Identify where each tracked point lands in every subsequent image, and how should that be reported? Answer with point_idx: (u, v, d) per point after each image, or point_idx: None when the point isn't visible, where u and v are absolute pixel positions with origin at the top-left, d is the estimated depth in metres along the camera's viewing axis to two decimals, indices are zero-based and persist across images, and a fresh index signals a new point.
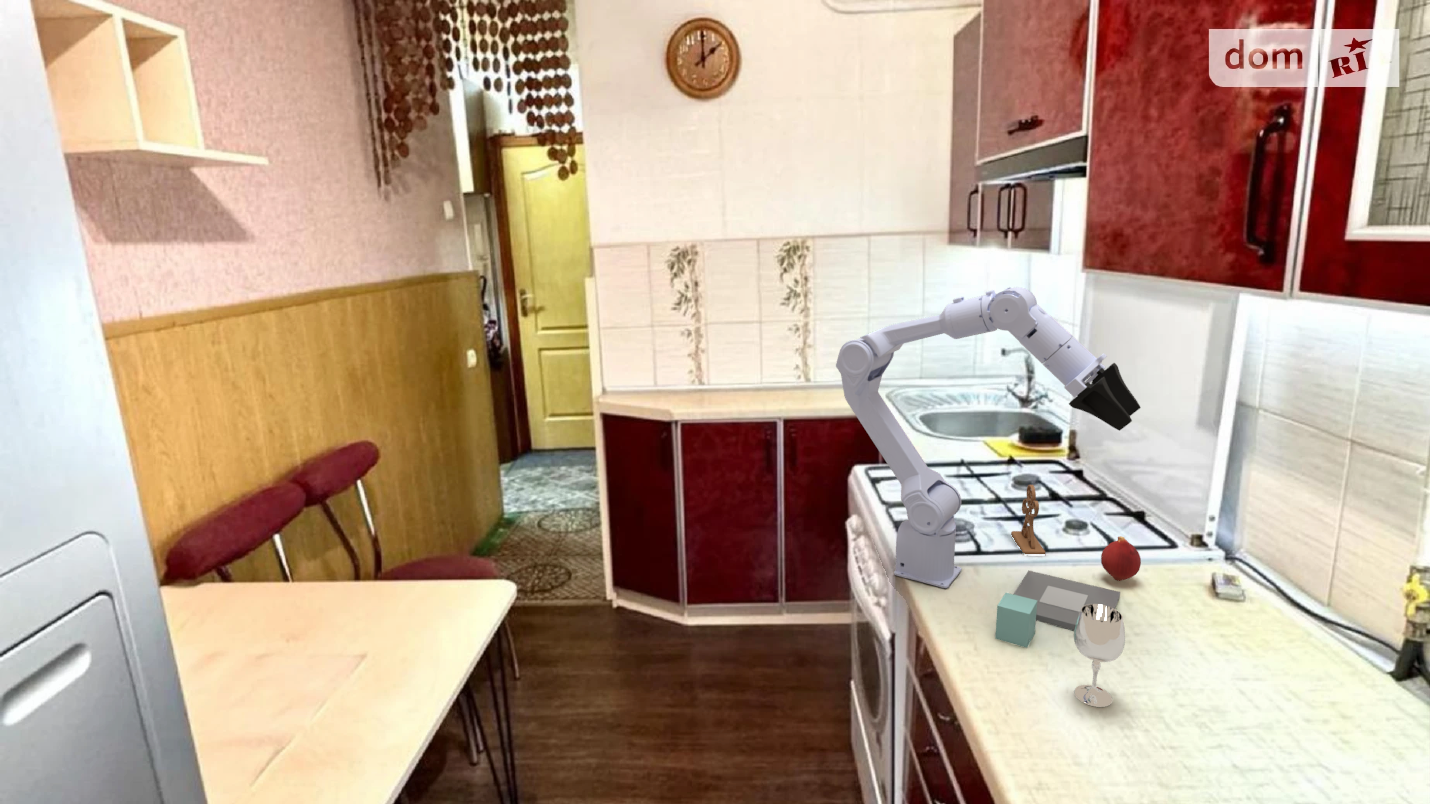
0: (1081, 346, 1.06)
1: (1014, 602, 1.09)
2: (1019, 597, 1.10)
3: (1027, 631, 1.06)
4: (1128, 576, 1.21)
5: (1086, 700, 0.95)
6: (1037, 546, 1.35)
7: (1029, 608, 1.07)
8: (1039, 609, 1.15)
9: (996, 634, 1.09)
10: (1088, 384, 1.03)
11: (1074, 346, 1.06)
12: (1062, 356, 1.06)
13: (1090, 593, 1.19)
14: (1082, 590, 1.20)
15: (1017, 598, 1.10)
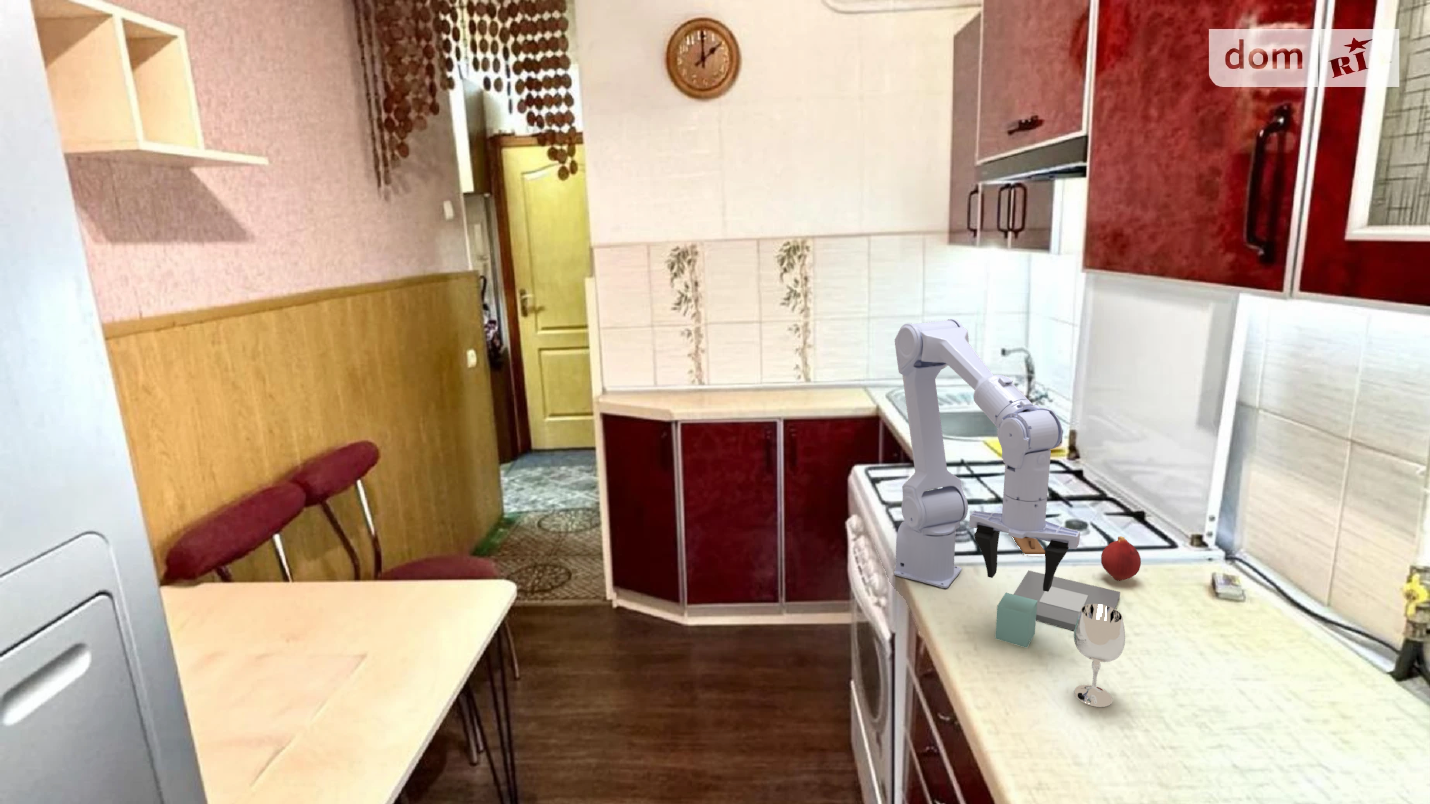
0: (1016, 511, 1.03)
1: (1014, 602, 1.09)
2: (1019, 597, 1.10)
3: (1027, 631, 1.06)
4: (1128, 576, 1.21)
5: (1086, 700, 0.95)
6: (1037, 546, 1.35)
7: (1029, 608, 1.07)
8: (1039, 609, 1.15)
9: (996, 634, 1.09)
10: (987, 529, 1.08)
11: (1009, 504, 1.03)
12: (1003, 498, 1.05)
13: (1090, 593, 1.19)
14: (1082, 590, 1.20)
15: (1017, 598, 1.10)
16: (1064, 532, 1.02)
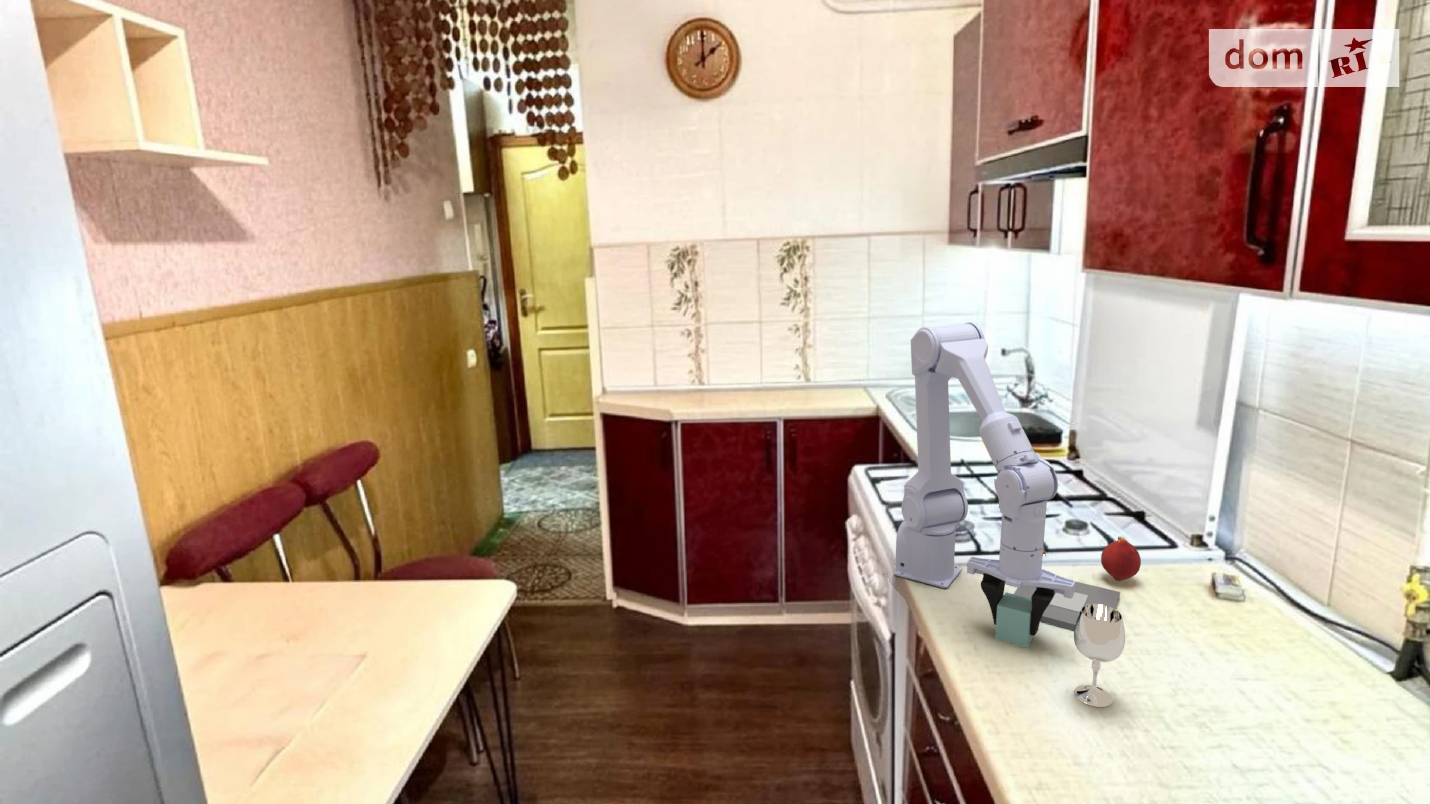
0: (1013, 561, 1.04)
1: (1014, 601, 1.09)
2: (1019, 596, 1.10)
3: (1027, 631, 1.06)
4: (1128, 576, 1.21)
5: (1086, 700, 0.95)
6: None
7: (1029, 608, 1.07)
8: None
9: (996, 634, 1.09)
10: (984, 576, 1.10)
11: (1006, 553, 1.05)
12: None
13: (1090, 593, 1.19)
14: (1082, 590, 1.20)
15: (1017, 598, 1.10)
16: (1060, 581, 1.04)
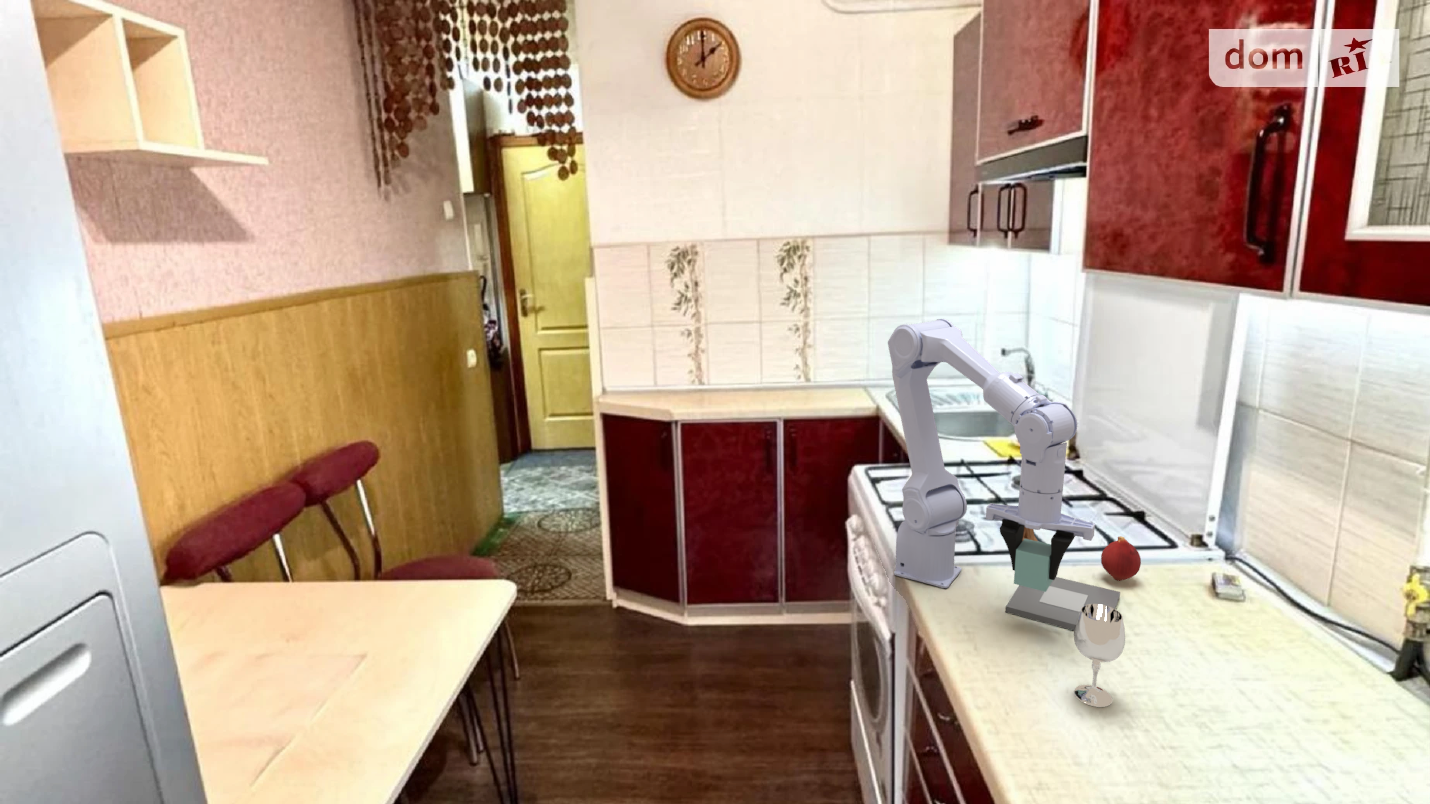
0: (1032, 503, 1.05)
1: (1033, 546, 1.09)
2: (1038, 542, 1.10)
3: (1046, 574, 1.07)
4: (1128, 576, 1.21)
5: (1086, 700, 0.95)
6: None
7: (1048, 552, 1.07)
8: (1039, 609, 1.15)
9: (1015, 579, 1.10)
10: (1003, 521, 1.10)
11: (1025, 497, 1.06)
12: (1019, 491, 1.08)
13: (1090, 593, 1.19)
14: (1082, 590, 1.20)
15: (1036, 543, 1.10)
16: (1079, 524, 1.04)
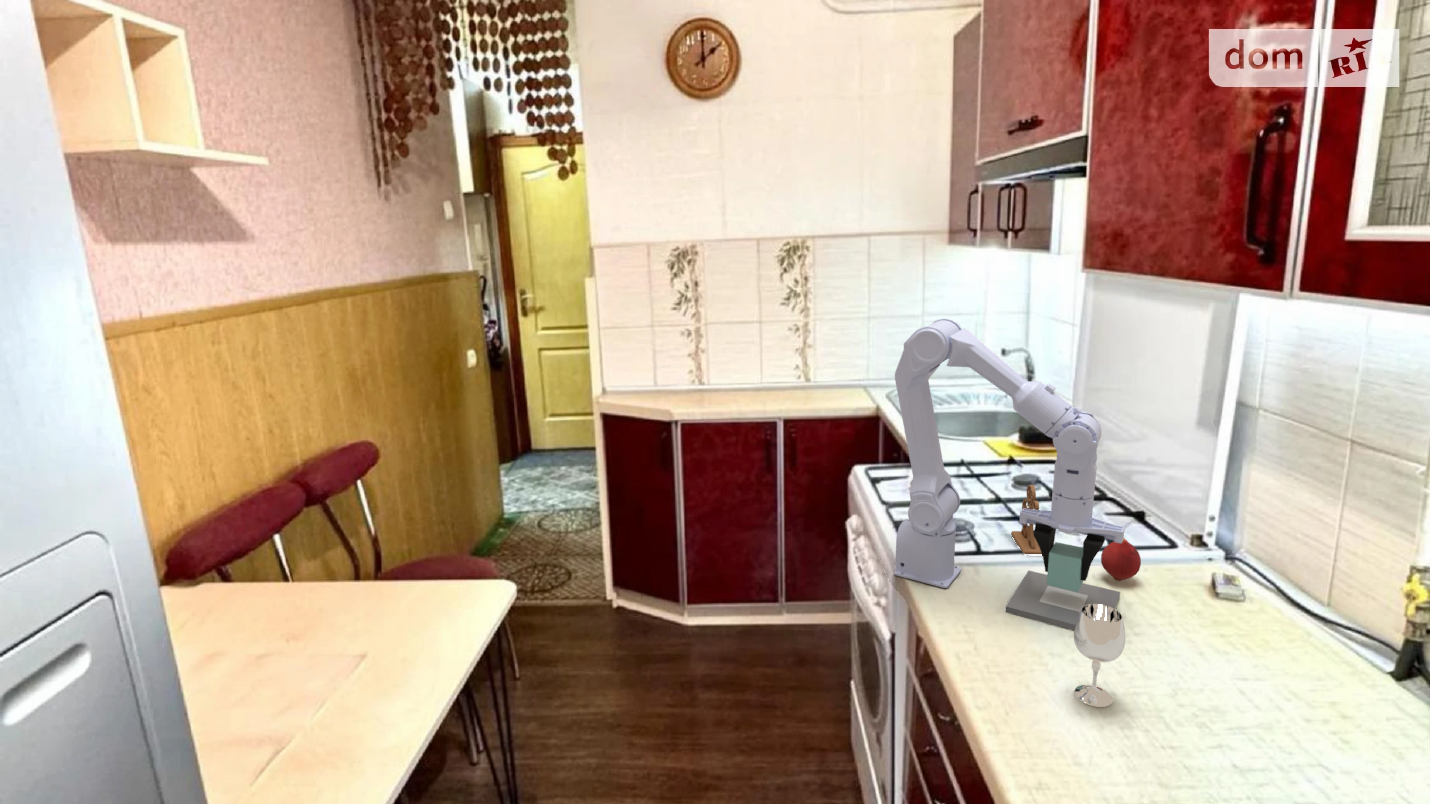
0: (1065, 509, 1.11)
1: (1065, 549, 1.15)
2: (1069, 545, 1.17)
3: (1078, 576, 1.13)
4: (1128, 576, 1.21)
5: (1086, 700, 0.95)
6: (1037, 546, 1.35)
7: (1080, 555, 1.13)
8: (1039, 609, 1.15)
9: (1048, 580, 1.16)
10: (1036, 525, 1.16)
11: (1058, 502, 1.12)
12: (1052, 497, 1.14)
13: (1090, 593, 1.19)
14: (1082, 590, 1.20)
15: (1067, 547, 1.16)
16: (1110, 528, 1.11)
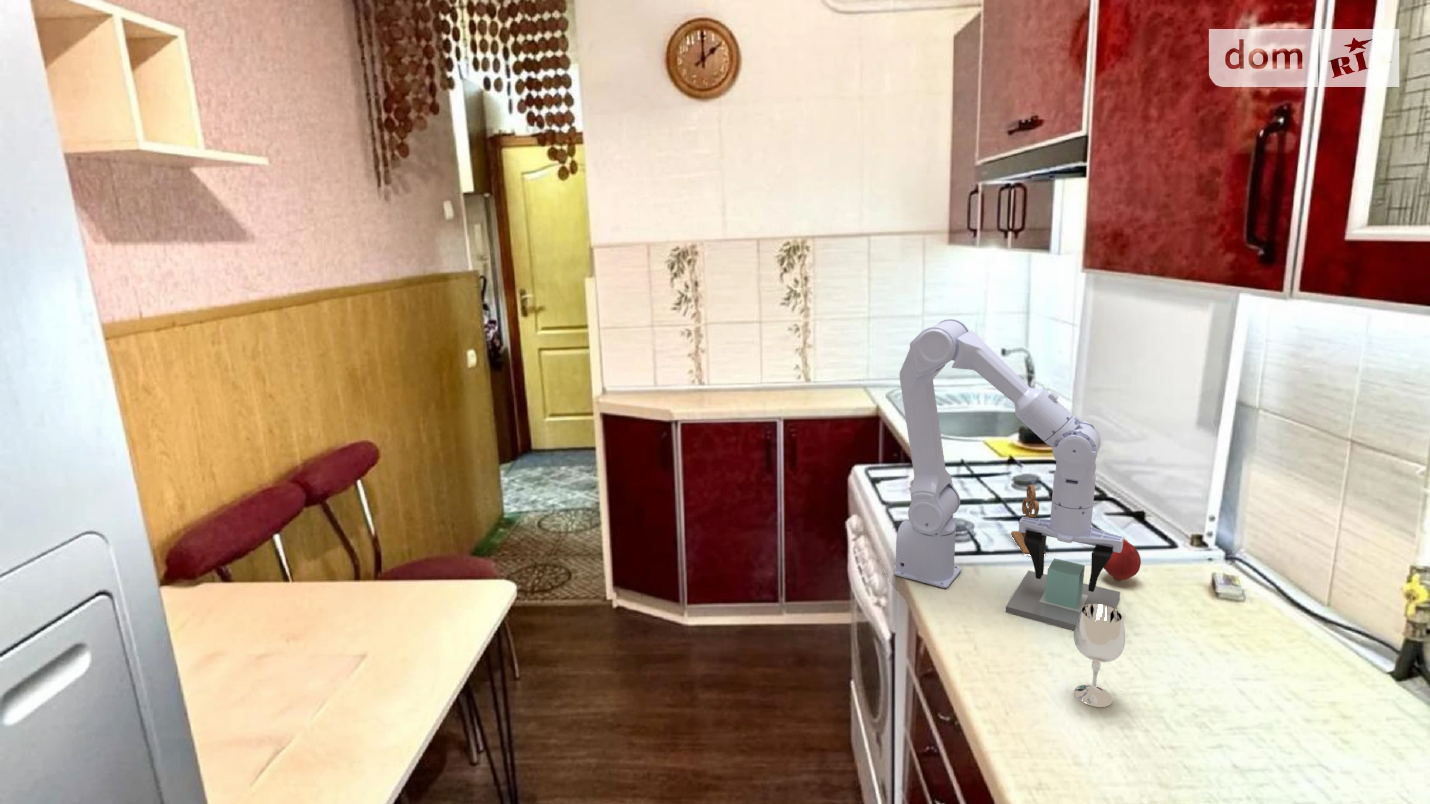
0: (1064, 518, 1.12)
1: (1063, 566, 1.16)
2: (1067, 562, 1.17)
3: (1076, 593, 1.14)
4: (1128, 576, 1.21)
5: (1086, 700, 0.95)
6: None
7: (1078, 572, 1.14)
8: (1039, 609, 1.15)
9: (1046, 596, 1.16)
10: (1035, 534, 1.17)
11: (1058, 511, 1.12)
12: (1051, 506, 1.15)
13: (1090, 593, 1.19)
14: (1082, 590, 1.20)
15: (1065, 563, 1.17)
16: (1109, 537, 1.11)
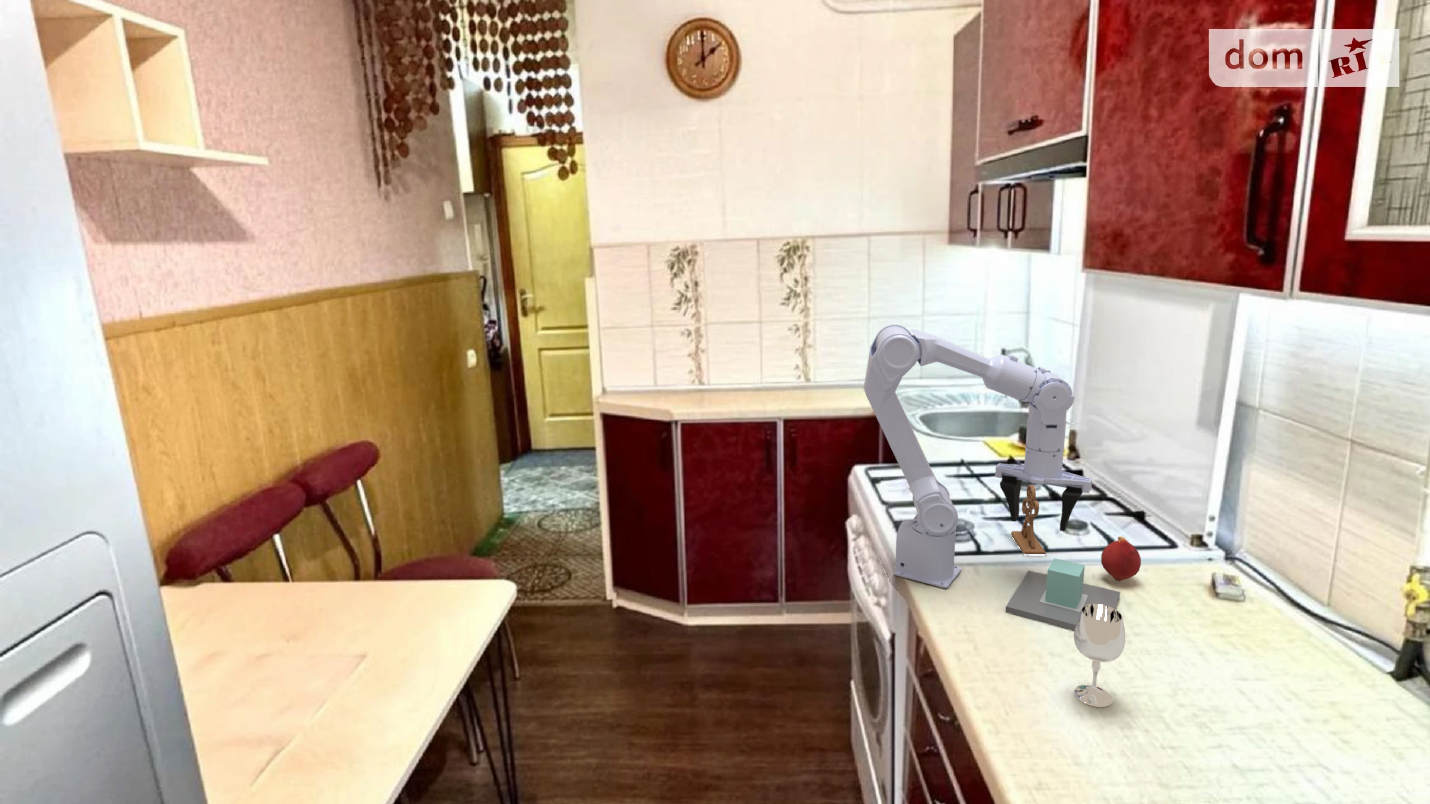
0: (1037, 461, 1.19)
1: (1063, 566, 1.16)
2: (1067, 562, 1.17)
3: (1076, 593, 1.14)
4: (1128, 576, 1.21)
5: (1086, 700, 0.95)
6: (1037, 546, 1.35)
7: (1078, 572, 1.14)
8: (1039, 609, 1.15)
9: (1046, 596, 1.16)
10: (1011, 479, 1.24)
11: (1031, 455, 1.20)
12: (1025, 451, 1.22)
13: (1090, 593, 1.19)
14: (1082, 590, 1.20)
15: (1065, 563, 1.17)
16: (1078, 479, 1.18)
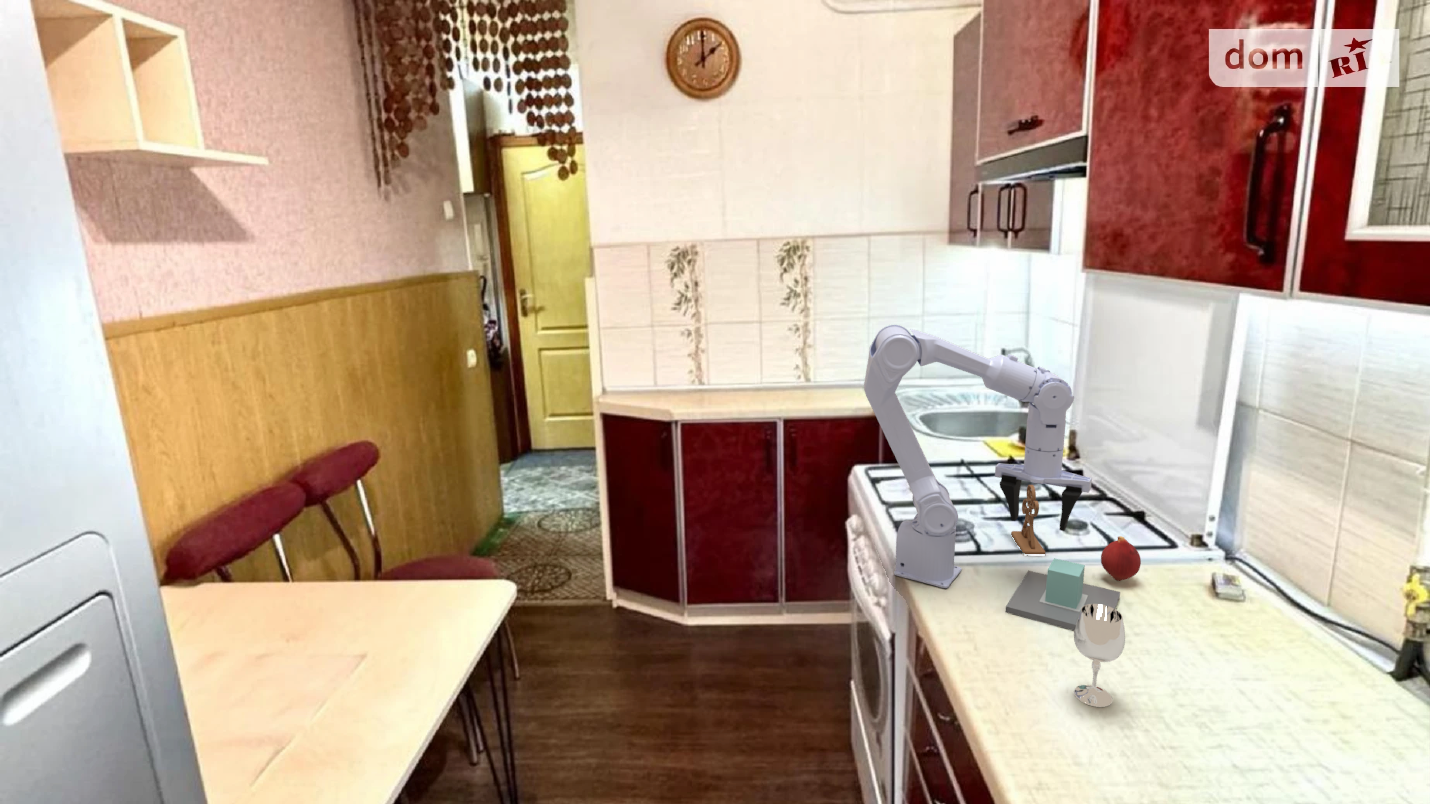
0: (1036, 461, 1.19)
1: (1063, 566, 1.16)
2: (1067, 562, 1.17)
3: (1076, 593, 1.14)
4: (1128, 576, 1.21)
5: (1086, 700, 0.95)
6: (1037, 546, 1.35)
7: (1078, 572, 1.14)
8: (1039, 609, 1.15)
9: (1046, 596, 1.16)
10: (1010, 478, 1.24)
11: (1030, 455, 1.20)
12: (1025, 451, 1.22)
13: (1090, 593, 1.19)
14: (1082, 590, 1.20)
15: (1065, 563, 1.17)
16: (1078, 478, 1.18)
